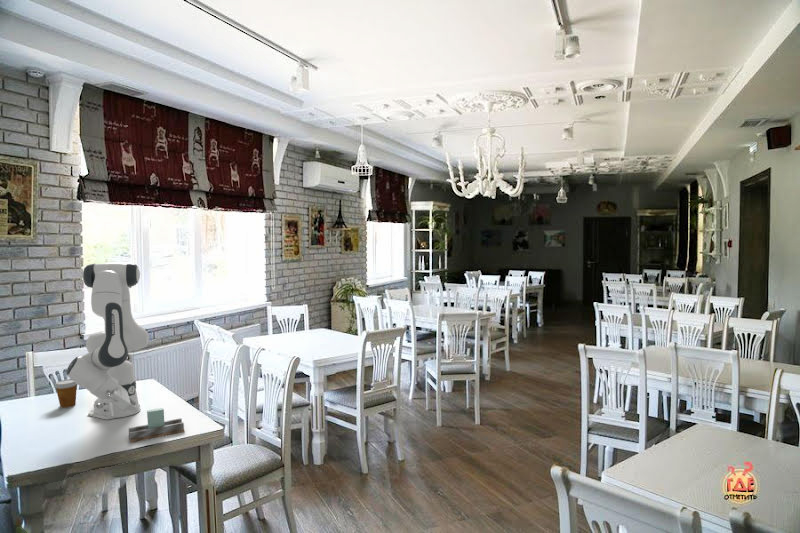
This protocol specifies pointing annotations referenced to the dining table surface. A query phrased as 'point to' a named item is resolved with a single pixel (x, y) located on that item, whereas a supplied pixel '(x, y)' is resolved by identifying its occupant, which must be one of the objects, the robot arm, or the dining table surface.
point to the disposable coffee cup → (66, 392)
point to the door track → (156, 430)
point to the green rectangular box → (155, 418)
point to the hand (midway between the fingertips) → (135, 407)
